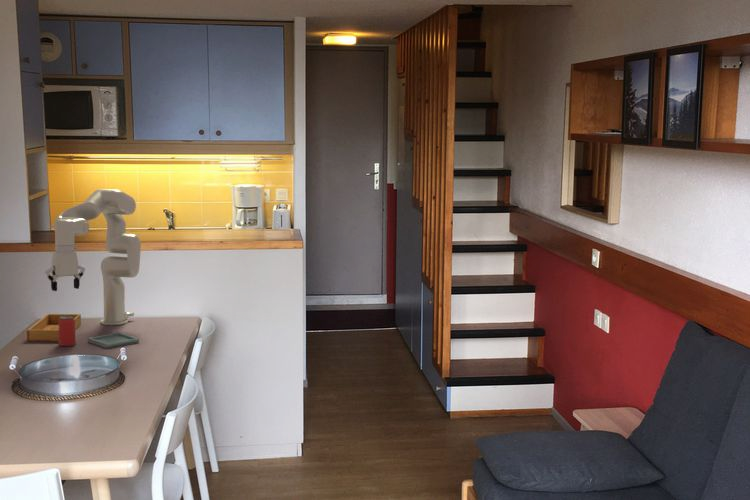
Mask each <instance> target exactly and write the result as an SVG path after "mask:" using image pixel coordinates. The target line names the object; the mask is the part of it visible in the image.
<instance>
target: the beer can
mask: <svg viewBox="0 0 750 500" xmlns="http://www.w3.org/2000/svg"><path fill="white" fill-rule="evenodd" d="M75 344H76V330H75V320H74V317H73V316H61V317H60V319H59V341H58V345H59V346H61V347H72V346H74V345H75Z"/></svg>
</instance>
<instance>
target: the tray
mask: <svg viewBox="0 0 750 500" xmlns="http://www.w3.org/2000/svg"><path fill="white" fill-rule="evenodd" d="M61 316H73V317H74V320H75V331H76V330H77V329H78V328H79V327H80V326H81V325H82V314H80V313H46V315H44V316H43V317H41V319H39V320H38V321H37V322H35V323H34V324H33V325H32V326H30V327H29V328H28V329H27V330H26V340H27V342H59V319H60V317H61Z"/></svg>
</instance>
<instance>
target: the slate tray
mask: <svg viewBox="0 0 750 500" xmlns="http://www.w3.org/2000/svg"><path fill="white" fill-rule="evenodd" d="M87 339H88V340H87V342H88V343H89V344H92V345H95V346H98V347H101V348H105V349H113V348H114V349H115V348H119V347H122V346H123V347H124V346H128V345H133V344H137V343H138V344H139V343H140V341H139V340H140V339H139V337H138V338H137V337H135V336H131V335H129V334H126V333H125V334H124V333H123V332H115V333H109V334H104V335H99V336H93V337H92V336H91V337H88V338H87Z"/></svg>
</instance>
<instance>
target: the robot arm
mask: <svg viewBox="0 0 750 500" xmlns="http://www.w3.org/2000/svg"><path fill="white" fill-rule="evenodd" d="M136 209H137V204H136V200H135V199H134V197H133V196H131V195H129V194H127V193H125V192H124V191H121V190H119V189H110V188H109V189H107V188H99V189H96V190H94V191H93V192H92V194H90V196H89V197H87V198H86V200H84V201H83V202H81V203H80V204H77V205H75V206H72V207H70V208H66V209H65V210H64V211H62V212H61V213H60V214H59V215H58V216H57V217H56V218H55V221H54V223H53V230H54V236H55V237H54V238H55V239H54V242H55V244H54V245H55V252H53V253H52V257H51V265H50V267H49V268H48V269H47V270H45V271H44V275H45V276H46V278H47V279H48V280H49V281H50V288H51V291H53V292H57V291H58V281H57V280H58V278H60V277H62V278H63V277H71V276H72V277H74V279H73V288H74V289H76V290H78V289H80V285H81V284H80V280H81V278H82V277H83V276H84V274H85V271H86V268H85V267H83V266H81V265H79V261H78V260H79V259H78V254H77V252H76V249H78V245H76V244H75V237H76V236H78V237H81V236H84V235H87V233H88V232H89V231H90V223H89V221H91V220H92V221H93V220H95V219H96V218H98V217H99V216H100V215H101V214H103V216H104V219H105V220H106V236H105V249H106V251H107V252H109V253H111V254H118V255H126V256H118V255H117V256H115V255H112V256H111V255H110V256H106V257H104V258H103V259H102V260H101V263H100V272H101V276H102V281H103V283H102V285H103V286H102V287H103V318H102V319H100V324H101V325H107V326H119V325H125V324H127V323H129V319H128V318H130V317H134V316H135V313H134V312H132V311H131V312H128V311H126V308H125V307H126V306H125V305H126V304H125V303H126V301H125V300H126V298H125V293H126V292H125V291H126V290H125V282H124V281H123V279H122V278H135V277H137V276H138V274H139V272H140V265H141V263H140V262H141V250H142V249H141V247H142V245H141V239H140V237H139V236H138V235H136V234H134V233H126V231H127V229H126V228H127V227H126V226H127V223H126V219H125V218H124V216H129V215H133V214H134V212H136ZM79 270H80V271H79Z"/></svg>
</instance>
